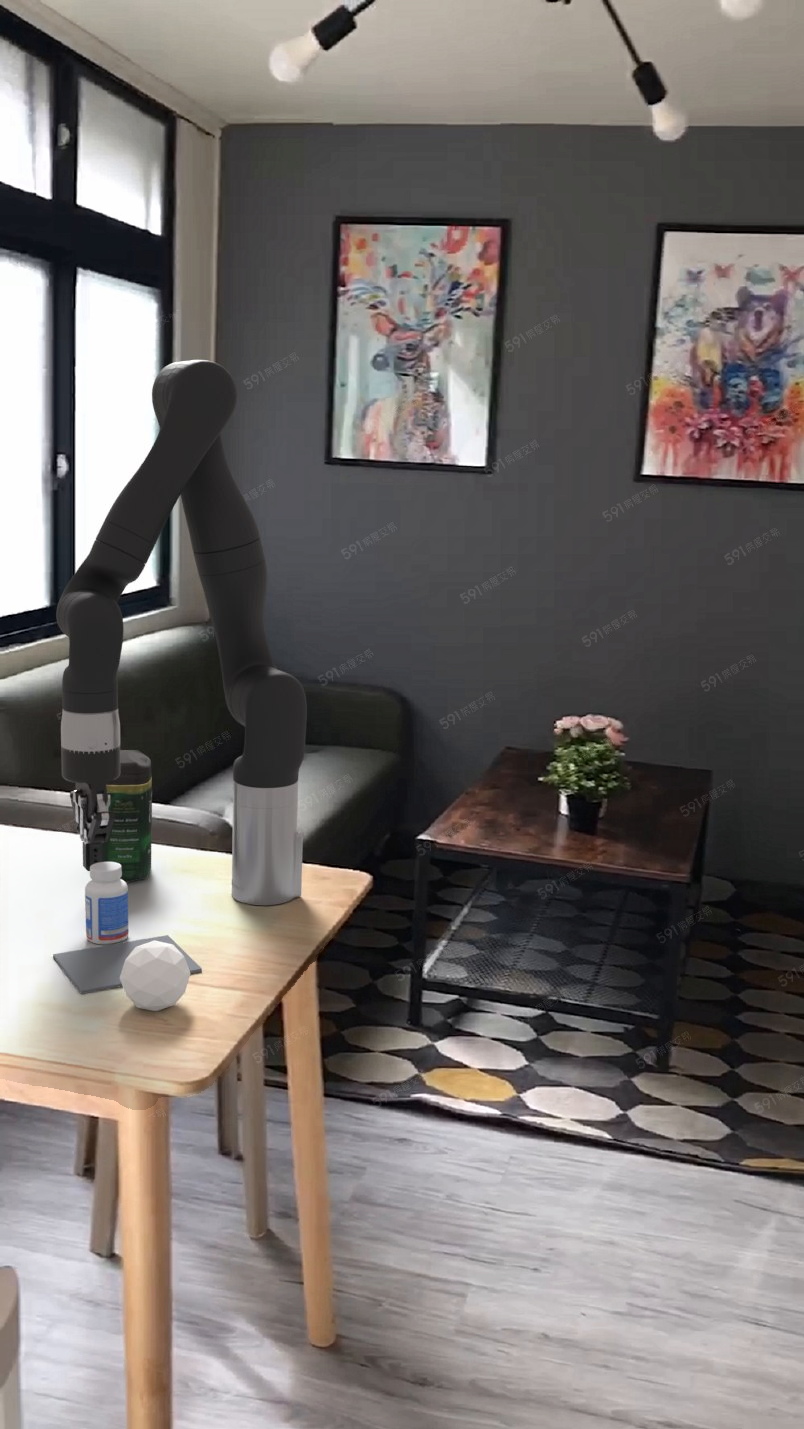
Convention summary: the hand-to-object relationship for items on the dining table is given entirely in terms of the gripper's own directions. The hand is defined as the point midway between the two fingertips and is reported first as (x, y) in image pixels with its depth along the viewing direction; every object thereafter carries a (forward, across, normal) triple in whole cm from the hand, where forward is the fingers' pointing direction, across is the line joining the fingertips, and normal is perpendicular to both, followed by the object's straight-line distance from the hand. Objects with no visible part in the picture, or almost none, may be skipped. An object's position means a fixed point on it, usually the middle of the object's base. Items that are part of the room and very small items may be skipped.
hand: (92, 868), depth 168 cm
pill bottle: (+8, -6, 0) cm, 10 cm away
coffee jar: (+8, +17, -10) cm, 21 cm away
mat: (+8, -16, 0) cm, 17 cm away
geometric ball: (+8, -28, +1) cm, 29 cm away
